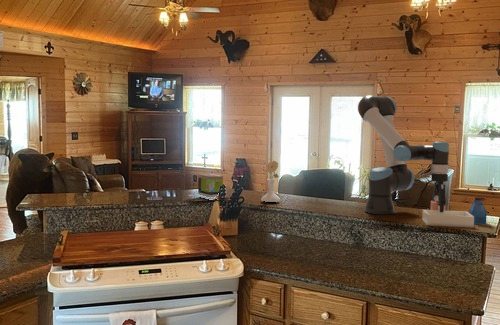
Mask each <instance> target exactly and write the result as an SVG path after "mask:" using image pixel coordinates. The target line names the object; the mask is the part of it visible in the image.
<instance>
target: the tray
mask: <svg viewBox="0 0 500 325" xmlns="http://www.w3.org/2000/svg"><path fill="white" fill-rule="evenodd" d="M422 221H423V222H424V224H425V225H426V226H432V227H454V228H474V224H475V223H474V216H472V215H471V214H470V213H469V211H467V210H466V211H464V210H463V211H462V210H446V211H444V215H438V210H430V209H422Z"/></svg>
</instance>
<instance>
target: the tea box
mask: <svg viewBox="0 0 500 325" xmlns="http://www.w3.org/2000/svg"><path fill="white" fill-rule="evenodd" d="M197 178H198V179H197V180H198V182H197V184H198V186H197V187H198V188H197V192H198V193H197V194H200V195H203V196H206V197H215V196H217V195H218V193H219V187H220V186H222V185H223V186H224V176H223V175H221V174H213V173H200V174H198V177H197Z"/></svg>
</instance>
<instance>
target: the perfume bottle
mask: <svg viewBox="0 0 500 325" xmlns="http://www.w3.org/2000/svg"><path fill="white" fill-rule="evenodd" d="M473 202H474V203H471V205H470V206H469V208H468V213H470V214H471V215H472V216H474V224H475V223H479V225H480V224H481V225H486V224H487V209H486V207H485V205H484V204H483V197H481V196H479V197H478V196H474V201H473Z"/></svg>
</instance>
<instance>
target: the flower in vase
mask: <svg viewBox="0 0 500 325" xmlns="http://www.w3.org/2000/svg"><path fill="white" fill-rule="evenodd" d="M278 167H279V163H278V162H277V161H276V160H271V161H268V163H267V165H266V166H265V170H266V172H267V175H268V176H269V177H271V178H267V179H266V181H267V182H268V190H267V193H266V194H264V195H263V196H262V197H261V198H260V200H261V202H263V201H265V202H264V203H266V202H276V203H279V202H280V201H281V198H280V197H279V196H278V195H277V194H276V193H275V192H274V189H273V187H274V182H275V181H276V178H279V175H278V173H275V172H276V171H277V170H278ZM272 173H273V175H271V174H272ZM278 201H279V202H278Z"/></svg>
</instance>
